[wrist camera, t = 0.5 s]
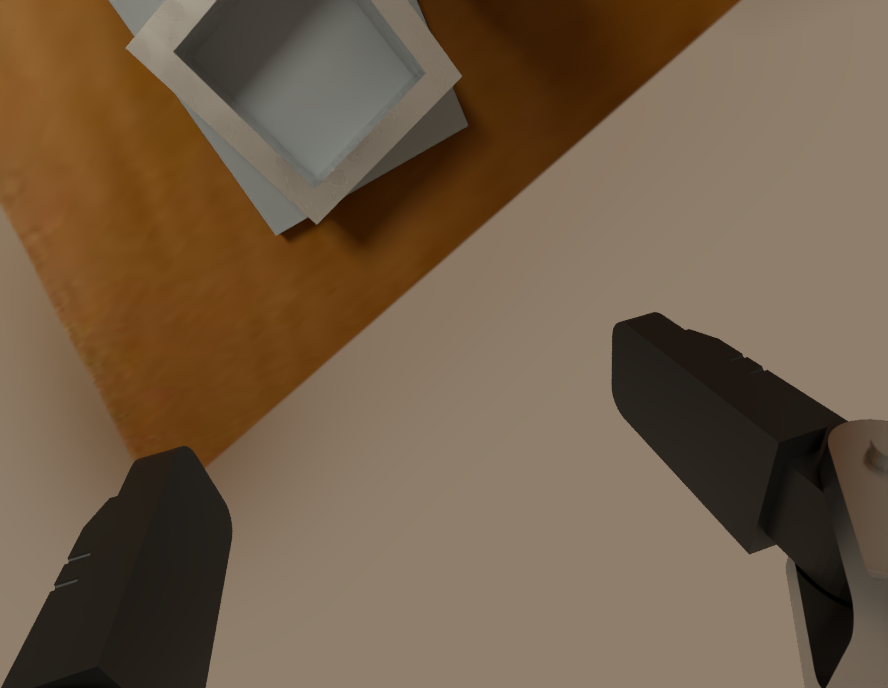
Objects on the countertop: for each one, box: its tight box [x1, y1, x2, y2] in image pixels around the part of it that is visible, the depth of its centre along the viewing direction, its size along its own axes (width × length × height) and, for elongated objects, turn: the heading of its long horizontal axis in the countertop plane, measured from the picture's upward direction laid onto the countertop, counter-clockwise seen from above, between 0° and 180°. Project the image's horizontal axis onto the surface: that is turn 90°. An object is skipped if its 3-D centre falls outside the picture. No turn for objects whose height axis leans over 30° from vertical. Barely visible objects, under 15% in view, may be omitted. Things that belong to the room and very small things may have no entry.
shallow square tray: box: [126, 0, 462, 225], centre depth 25 cm, size 11×11×4 cm
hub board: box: [109, 0, 469, 235], centre depth 27 cm, size 15×14×1 cm
